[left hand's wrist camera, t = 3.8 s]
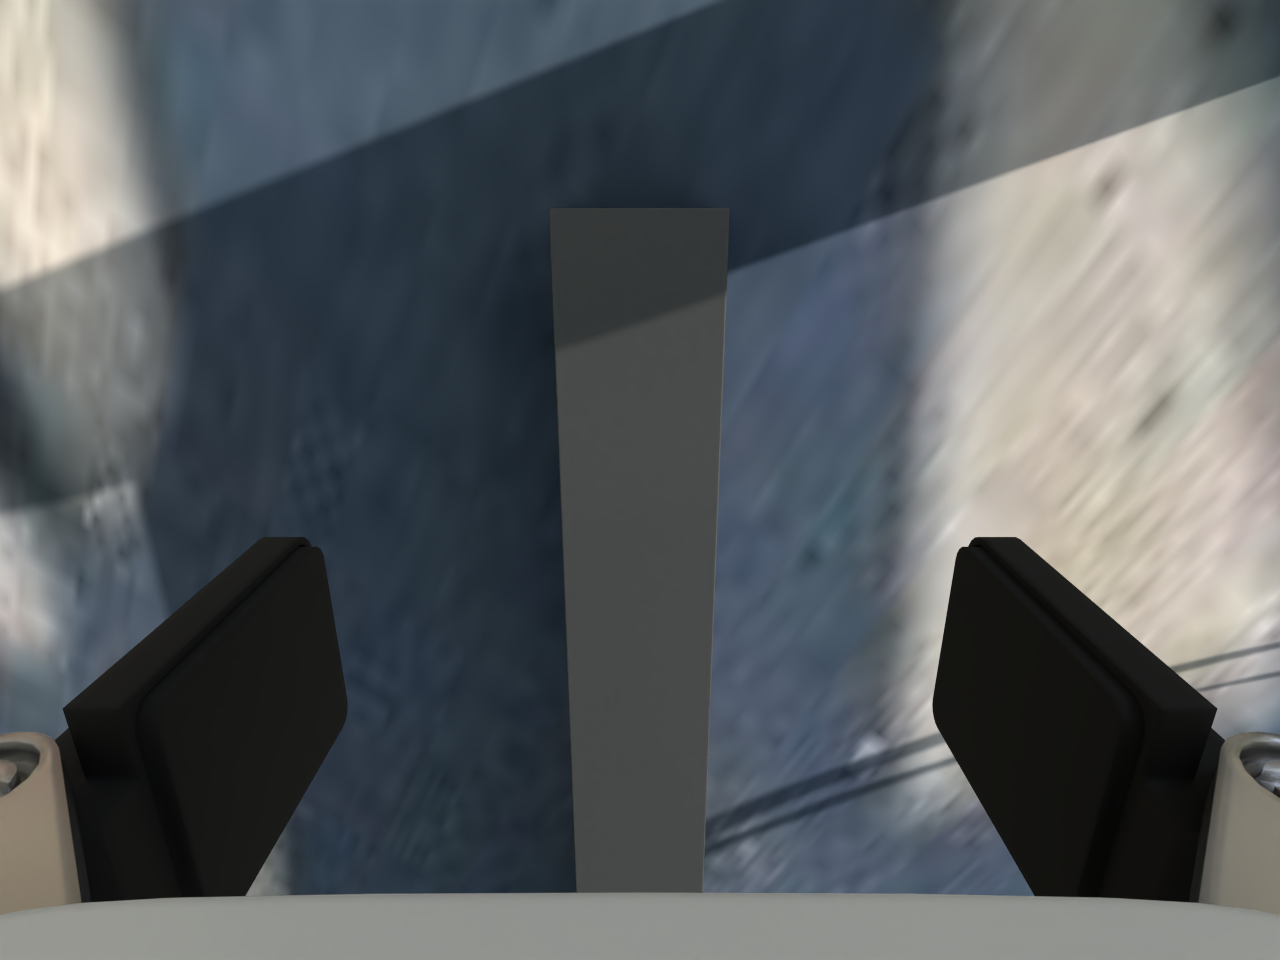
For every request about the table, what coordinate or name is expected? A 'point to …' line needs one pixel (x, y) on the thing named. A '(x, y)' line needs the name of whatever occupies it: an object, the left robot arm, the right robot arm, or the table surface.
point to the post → (639, 530)
